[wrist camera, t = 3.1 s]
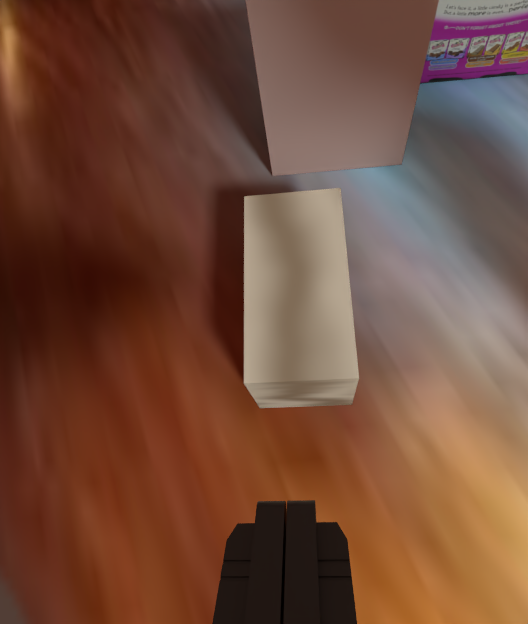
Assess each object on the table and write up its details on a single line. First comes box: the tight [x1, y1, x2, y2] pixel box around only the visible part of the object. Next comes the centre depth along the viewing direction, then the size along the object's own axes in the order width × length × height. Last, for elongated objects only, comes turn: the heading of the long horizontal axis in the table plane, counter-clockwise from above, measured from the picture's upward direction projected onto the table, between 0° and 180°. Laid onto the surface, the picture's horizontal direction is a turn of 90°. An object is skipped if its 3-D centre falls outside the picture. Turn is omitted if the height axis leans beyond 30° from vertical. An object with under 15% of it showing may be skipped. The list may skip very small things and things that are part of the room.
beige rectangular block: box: [244, 188, 359, 408], centre depth 35 cm, size 7×14×8 cm, turn 1°
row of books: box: [246, 0, 439, 176], centre depth 38 cm, size 12×14×18 cm
